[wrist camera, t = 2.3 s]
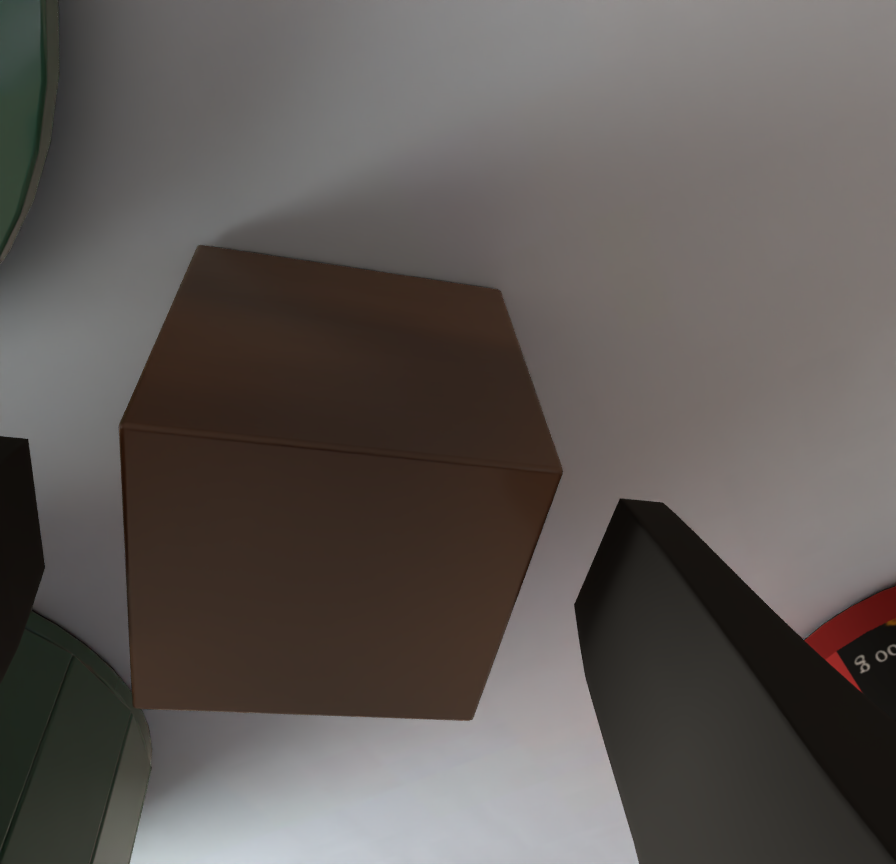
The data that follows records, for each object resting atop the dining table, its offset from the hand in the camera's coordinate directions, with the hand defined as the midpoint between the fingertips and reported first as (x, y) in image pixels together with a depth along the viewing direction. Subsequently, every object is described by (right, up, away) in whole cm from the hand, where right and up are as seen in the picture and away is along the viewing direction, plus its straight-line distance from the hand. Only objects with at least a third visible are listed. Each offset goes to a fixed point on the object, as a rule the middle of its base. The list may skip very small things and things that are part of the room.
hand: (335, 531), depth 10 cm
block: (0, +2, +3) cm, 3 cm away
